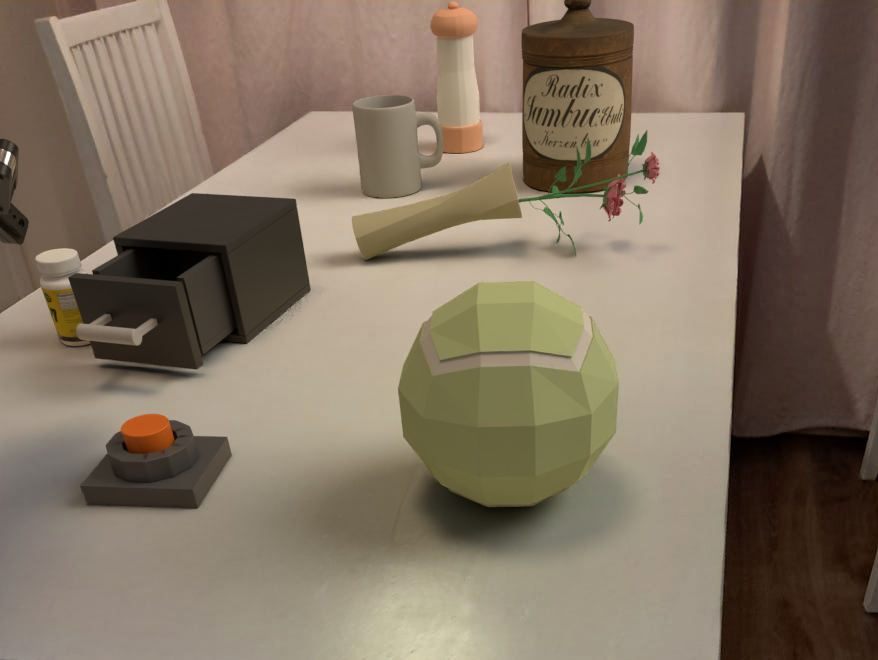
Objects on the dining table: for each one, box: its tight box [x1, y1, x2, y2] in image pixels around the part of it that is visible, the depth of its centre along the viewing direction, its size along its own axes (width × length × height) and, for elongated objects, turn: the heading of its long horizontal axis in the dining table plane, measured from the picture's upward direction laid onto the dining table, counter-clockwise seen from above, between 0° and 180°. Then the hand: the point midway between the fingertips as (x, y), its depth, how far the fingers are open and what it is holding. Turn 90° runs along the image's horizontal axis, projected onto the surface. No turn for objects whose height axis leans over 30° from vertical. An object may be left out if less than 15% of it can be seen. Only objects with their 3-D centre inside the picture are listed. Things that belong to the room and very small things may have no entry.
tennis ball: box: [397, 280, 620, 508], centre depth 65 cm, size 15×15×15 cm
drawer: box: [68, 247, 237, 370], centre depth 89 cm, size 18×11×8 cm, turn 162°
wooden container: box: [520, 0, 635, 194], centre depth 123 cm, size 15×15×22 cm
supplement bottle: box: [34, 247, 91, 347], centre depth 93 cm, size 5×5×8 cm
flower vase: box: [351, 129, 660, 261], centre depth 107 cm, size 12×12×35 cm
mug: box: [351, 94, 444, 199], centre depth 127 cm, size 12×8×11 cm
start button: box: [120, 413, 174, 454], centre depth 71 cm, size 4×4×2 cm
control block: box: [79, 419, 233, 509], centre depth 72 cm, size 9×8×4 cm
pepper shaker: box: [429, 0, 484, 154], centre depth 140 cm, size 7×7×19 cm
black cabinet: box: [112, 192, 312, 344], centre depth 96 cm, size 15×13×10 cm
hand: (18, 233), depth 71 cm, fingers closed
